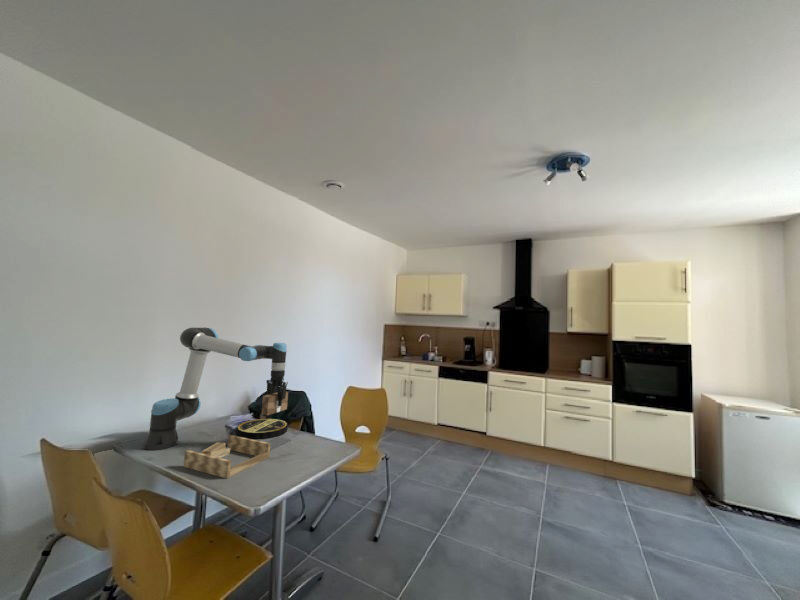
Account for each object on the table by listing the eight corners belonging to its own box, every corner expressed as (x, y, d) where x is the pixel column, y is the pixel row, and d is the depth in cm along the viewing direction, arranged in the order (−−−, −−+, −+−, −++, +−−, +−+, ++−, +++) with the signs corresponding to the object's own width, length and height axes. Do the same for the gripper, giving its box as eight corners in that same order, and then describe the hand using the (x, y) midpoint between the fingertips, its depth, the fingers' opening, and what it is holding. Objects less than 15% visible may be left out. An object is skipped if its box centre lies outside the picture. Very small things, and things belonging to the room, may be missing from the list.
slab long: (194, 464, 151) (195, 458, 151) (223, 452, 166) (223, 447, 166) (202, 466, 149) (202, 459, 150) (229, 454, 164) (230, 448, 165)
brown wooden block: (261, 414, 174) (262, 396, 175) (281, 408, 189) (282, 391, 190) (267, 415, 172) (268, 396, 173) (286, 409, 187) (288, 391, 188)
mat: (251, 449, 171) (251, 447, 171) (277, 437, 190) (277, 436, 190) (266, 452, 168) (266, 451, 168) (290, 440, 187) (291, 439, 187)
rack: (183, 466, 147) (185, 451, 148) (229, 448, 171) (230, 434, 172) (226, 478, 138) (228, 461, 139) (269, 457, 162) (270, 443, 162)
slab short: (201, 457, 152) (201, 451, 152) (216, 448, 164) (217, 442, 164) (210, 458, 152) (211, 451, 152) (225, 448, 164) (225, 442, 164)
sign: (257, 416, 218) (296, 421, 212) (256, 422, 218) (296, 427, 212) (225, 429, 189) (270, 435, 183) (224, 436, 189) (269, 442, 183)
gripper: (261, 369, 182) (257, 410, 180) (285, 371, 176) (282, 414, 174) (270, 367, 189) (267, 407, 187) (294, 370, 183) (291, 411, 181)
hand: (274, 411), depth 181 cm, fingers closed on brown wooden block, 4 cm apart
